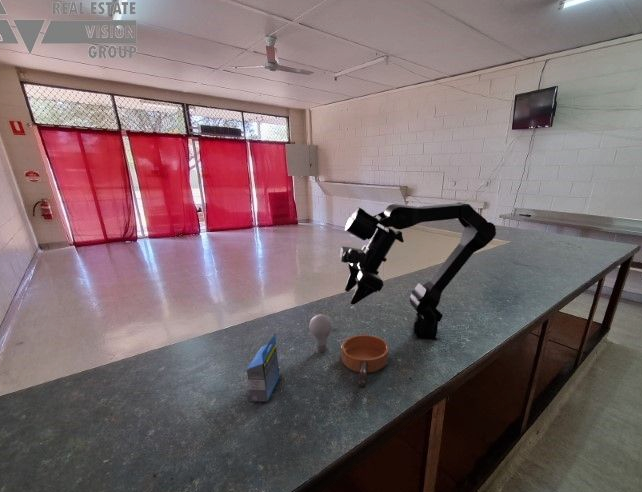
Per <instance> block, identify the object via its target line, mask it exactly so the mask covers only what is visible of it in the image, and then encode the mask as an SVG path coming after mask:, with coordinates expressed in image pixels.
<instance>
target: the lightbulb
mask: <svg viewBox="0 0 642 492" xmlns="http://www.w3.org/2000/svg"><path fill="white" fill-rule="evenodd" d="M308 325H309V326H308V328H309V331H310V333H311V334H312V336H313V337H314V340H315V341H314V342H315V344H316V350H317V351H318V352H320V353H324V352H326V350H327V344H328V340H329V339H328V338H329V336H330V334H331V333H332V330H333V327H334V326H333V321H332V319H331V318H330V316H328V315H326V314H321V313H319V314H316V315H314V316H313V317H312V318H311V319H310V321H309V324H308Z"/></svg>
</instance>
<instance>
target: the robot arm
mask: <svg viewBox="0 0 642 492" xmlns="http://www.w3.org/2000/svg"><path fill="white" fill-rule="evenodd" d="M449 220H458V221H459V223H460V225H461V226H462V227H463V228H464V229H463V230H462V232H461V235H460V240H459V243H458V244H457V246H455V248H454V249H453V251H452V252H451V253H450V254H449V255H448V257H447V258H446V260H444V262H443V263H442V264H441V266H440V267H439V268H438V269H437V271H436V272H435V273H434V274H433V276H432V277H431V278H430V279H429V281H427V282H426V283H424V284H422V283H421V282H418V283H417V284H416V286H415V288H414V289H413V290H412V291H410V296H409V303H410V304H409V305H411V307H412V308H413V309H414V310H415V312H416V314H415V317H414V318H413V326H412V327H413V328H412V330H413V334H414V335H415V339H418V340H419V339H420V340H422V339H424V340H438V338H439V337H438V327H439V322H441V321H442V319H443V316H444V315H443V313H442V312H440V310H438V309H437V307H438V306H439V305H440V302H441V297H442V294H443V291H444V290H445V289H446V288H447V287H448V286H449V284H450V283H451V282H452V280H453V279H454V278H455V276H456V275H457V274H458V273H459V271H461V269H462V268H463V267H464V266H465V264H466V263H467V262H468V261H469V260H470V258H471V257H472V256H473V255H474V253H477V251H480V250H481V249H483V248H485V247H486V246H487V245H488V244H490V243H491V242H492V241H493V240H494V239H495V237H496V235H497V228H496V225H495V224H494V223H493V222H492V221H488V220H487V219H486V218H485V217H484V216H482V215H481V214H480V213H479V212H478V211H476V210H475V209H474V208H473V207H472V206H471V204H469V203H466V202H462V201H459V202H456V203H455V202H454V203H446V204H434V205H423V206H413V205H408V204H399V203H393V204H390V205H388V206H386V208H385V209H384V211H381V212H379V213H377V214H375V215H372V214H370V213H368V212H367V211H366V210H365V209H363V208H361V207H360V206H359V207H357V208H356V210H355V211H354V212H353V213H352V215H350V216H349V218H348V219H347V221H346V224H345V226H344V231H346V232H348V233H349V234H351V235H353V236H355V237H356V238H357V239H360V240H362V241H367V240H369V242H368V244H367V245H366V244H364V245H362V247H361V248H356V247H351V246H341V247H340V252H339V259H340V262H341V263H343V264H347V267H348V271H349V273H348V276H347V281H346V285H345V287H344V291H345V292H347V293H349V292H350V291H351V290H352V289H353V288H354V287H355V290H354V292H353V294H352V297H351V300H350V302H349V303H350V304H351V306H352V305H353V306H354V305H356V304H358V303H359V302H361V301H362V300H364V299H365V298H367V297H369V296H370V295H372V294H374V293H377V292H381V290H382V289H383V287H384V281H383V279H382V278H381V276H380V275H379V273H380V271H379V268H380V266H382V263H383V262H384V263H386V262H387V260H388V258H387V254H388V253H389V252H390V250H391V248H392V247H393V245H394V243H395V242H396V241H398V242H400V243H404V241H405V240H404V238H403V231H402V230H405V229H408V228H411V227H414V226H416V225H418V224H421V223H429V222H438V221H449ZM379 225H381V226H382V227H384V228H382V227H381V226H379ZM394 229H395V230H397V231H395V230H394Z"/></svg>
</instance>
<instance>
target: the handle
mask: <svg viewBox="0 0 642 492" xmlns="http://www.w3.org/2000/svg"><path fill="white" fill-rule="evenodd" d="M367 368H368V364H367V362H365V361H363V362H361V364H360V372H358V381H357V382H358V383H357V385H358V387H359V389H365V388H366V387H367V382H368V373H367Z"/></svg>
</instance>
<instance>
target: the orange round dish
mask: <svg viewBox="0 0 642 492" xmlns="http://www.w3.org/2000/svg"><path fill="white" fill-rule="evenodd" d="M389 348H390V346H389V343H388V342H387V341H386V340H384V339H383V338H381V337H379V336H376V335H372V334H358V335H354V336H350V337H348V338H347V339H345V340H344V341H343V342H342V344H341V361H342V364H343V365H345V366H346V368H347V369H349V370H351V371H354V372H357V373H359V372H360V364H361V362H363V361H365V362H367V364H368V368H367V374H369V373H374V372H377V371H380V370H382V369H383V368H384V367H385V366H386V365H387V364H388V361H389V353H390V351H389V350H390V349H389Z"/></svg>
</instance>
